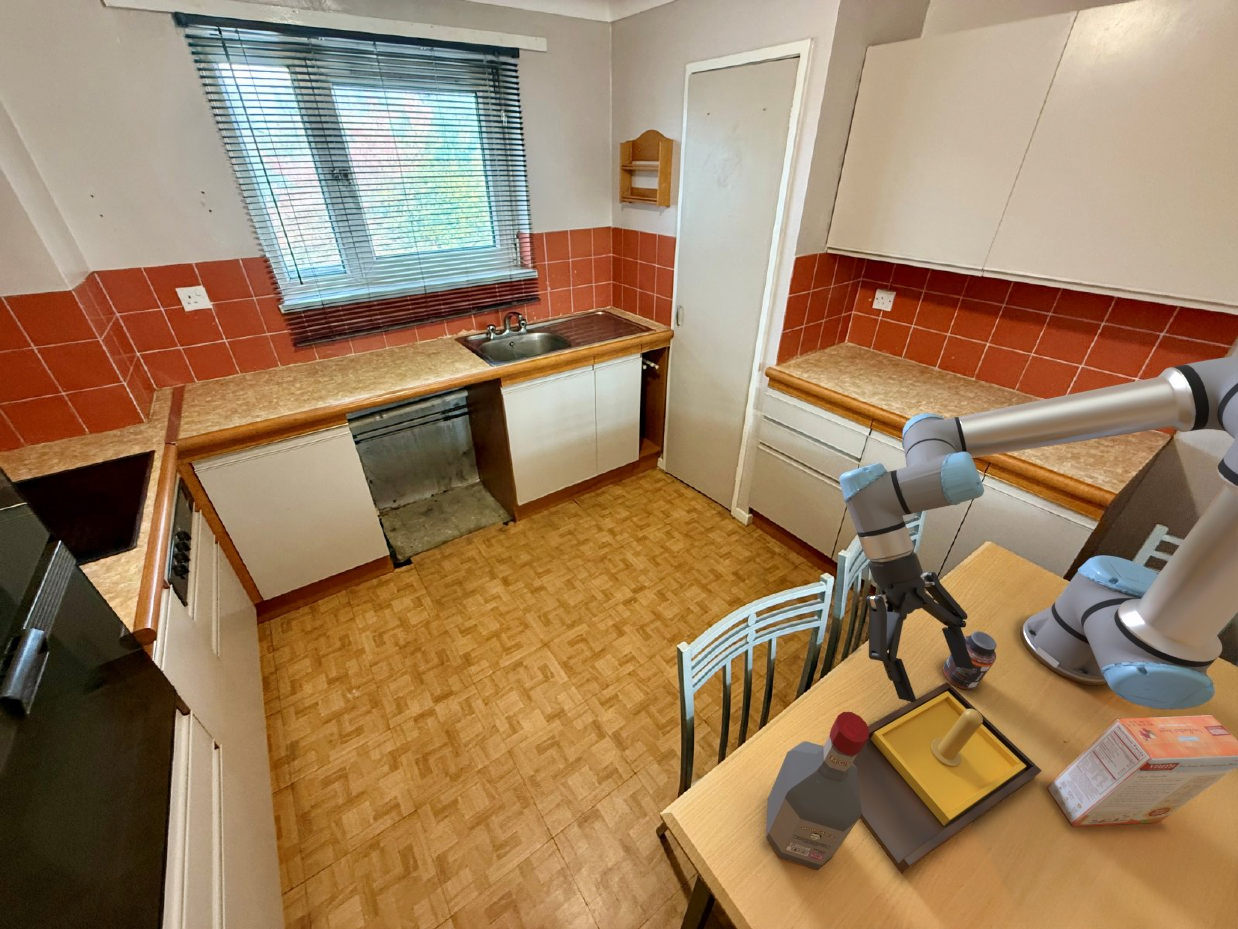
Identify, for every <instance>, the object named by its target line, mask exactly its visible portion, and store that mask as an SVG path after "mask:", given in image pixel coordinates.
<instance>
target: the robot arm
mask: <svg viewBox="0 0 1238 929" xmlns="http://www.w3.org/2000/svg"><path fill="white" fill-rule="evenodd" d="M1167 428H1171V429H1173V430H1175V431H1178V432H1180V433H1187V432H1195V431H1201V430H1214V431H1222V432H1225V433H1227V434H1228V436H1230V437H1231V438H1233V439H1234V440H1233V442H1232V444H1231V446H1230V447H1229V448H1228V450H1227V451H1226V453H1225V454H1224V455H1223V457H1222V458H1221V460H1220V462H1219V463H1218V464H1217V466H1216V472H1217V475H1218V476H1219V477H1220V478H1221V480H1222V481H1223V483H1224V484H1223V485H1222V486H1221V488H1220V489H1219V490H1218V492H1217V493H1216V494H1215V496H1214V498H1213V499H1212V500H1211V501H1210V503H1209V504H1208V506H1207V507H1206V509H1205V510H1204V511H1203V513H1202V514H1201V515H1200V517H1199V518H1198V520H1197V521H1196V522H1195V524H1194V525H1193V527H1192V528H1191V529H1190V531H1189V532H1188V533H1187V535H1186V536H1185V537H1184V539H1183V540H1182V541H1181V543H1180V545H1179V546H1178V547H1177V549H1175V551H1174V552H1173V554H1172V555H1171V557H1170V558H1169V559H1168V560H1167V562H1166V564H1165V565H1164V566H1163V568H1162V569H1161V570H1160V572H1159V573H1157V571H1154V570H1152V569H1151V568H1148V567H1146V566H1144V565H1142V564H1140V563H1138V562H1135V561H1132V560H1129V559H1126V558H1122V557H1119V556H1113V555H1096V556H1093V557H1090V558H1088V559H1087V560H1086V561H1085V562H1084V563H1083V564H1082V565H1081V566H1080V567H1078V568H1077V572H1076V573H1075V574H1074V576H1073V577H1072V578H1071V579H1070V581H1069V583H1068V584H1067V585H1066V587H1065V588H1064V589H1063V591H1061V593H1060V594H1059V595H1058V597H1057V598H1056V600H1055V601H1054V602H1053V603H1052V605H1051V606H1048V607H1046V608H1044V609H1042V610H1040V611H1039V612H1036V613H1035V614H1033V615H1031V616H1029V617H1028V618H1027V619H1026V620H1025V621H1024V623H1023V624H1022V625H1021V627H1020V633H1019V634H1020V638H1021V642H1022V643H1023V645H1024V647H1025V648H1026V649H1027V651H1028V652H1029V654H1030V655H1031V656H1032V657H1033V658H1034V659H1036V661H1038V662H1039V663H1040V664H1041V665H1043V667H1046V668H1047V669H1048V670H1050V671H1051V672H1053V673H1054V674H1056V675H1058V676H1060V677H1062V678H1065V679H1067V680H1069V681H1072V682H1074V683H1078V684H1082V685H1087V686H1101V685H1105V684H1107V685H1108V686H1109V688H1110V690H1111V691H1112V692H1113V693H1114V694H1115V695H1116V696H1117V697H1119V698H1121V699H1122V700H1124V701H1126V702H1129V703H1131V704H1134V705H1137V706H1140V707H1144V708H1148V709H1155V710H1168V711H1169V710H1170V711H1171V710H1173V711H1174V710H1186V709H1192V708H1196V707H1200V706H1202V705H1204V704H1207V703H1209V702H1210V701H1211V700H1212V699H1214V696H1215V693H1216V689H1215V686H1214V685H1215V683H1214V681H1213V679H1212V678H1211V677H1210V676H1209V675H1208V674H1207V673H1208V672H1207V671H1208V669H1209V668H1210V667H1211V666H1212V664H1213V663H1214V662H1215V661H1216V660H1217V659H1218V658H1219V657H1220V656H1221V654H1222V652H1223V644H1222V642H1221V640H1220V637H1218V635H1219V633H1220V632H1221V631H1222V630H1223V629H1224V628H1225V627H1226V626H1227V625H1228V623H1229V622H1230V621H1232V619H1233V618H1234V617H1235V616H1236V615H1237V613H1238V355H1235V356H1226V357H1220V358H1213V359H1207V360H1202V361H1201V360H1200V361H1195V362H1189V363H1186V364H1181V365H1177V366H1171V367H1167V368H1165V369H1164V370H1163V371H1162V372H1161V373H1160V374H1159V375H1158V376H1157V377H1156V376H1155V377H1152V378H1147V379H1142V380H1141V379H1140V380H1135V381H1130V382H1127V383H1122V384H1116V385H1111V386H1106V387H1102V388H1096V389H1091V390H1086V391H1081V392H1076V393H1071V394H1066V395H1061V396H1055V397H1051V398H1045V399H1040V400H1035V401H1030V402H1026V403H1020V404H1015V405H1010V406H1005V407H1000V408H994V409H990V410H989V409H988V410H985V411H984V410H983V411H980V412H975V413H969V414H964V415H959V416H954V417H949V418H944V417H942V415H939V414H936V413H929V412H923V413H919V414H915V415H914V416H912V417H911V418H910V419H908V420H907V422H906V423H905V424H904V427H903V428H902V441H901V445H902V448H903V451H904V457H905V466H904V467H901V468H898V469H894V470H889V471H888V470H887V469H886V468H885V465H884V464H883V463H881V462H876V463H873V464H870V465H865V466H862V467H858V468H855V469H852V470H848V471H845V472H844V473H841V475H840V476H839V481H838V482H839V485H840V488H841V491H842V495H843V498H844V499H843V501H844V503H845V505H846V508H847V511H848V513H849V515H850V518H851V520H852V523H853V527H854V528H855V531H856V534H857V537H858V540H859V542H860V546H861V548H862V551H863V554H864V557H865V559H867V560H869V561H868V563H867V566H868V568H869V571H870V575H871V577H872V580H873V582H874V583H875V584H876V585H877V586H878V587H879V589H880V590H879V592H880V594H878V595H867V596H866V599H865V600H866V604H867V608H868V658H869V659H870V660H872V661H878V662H882V664H883V667H884V670H885V673H886V675H887V678H888V679H889V681H891V682H892V684H893V686H894V687H893V688H894V690H895V692H896V695H897V698H898V699H899V700H902V701H906V702H908V703H910V702H915V701H916V699H917V698H916V695H915V692H914V689H913V686H912V685H911V682H910V679H909V676H908V672H907V670H906V668H905V665H904V662H903V659H902V658H900V657H898V652H899V647H900V641H901V636H902V630H903V625H904V621H905V620H907V618H908V615H910V614H912V613H913V612H914V611H915V610H921V609H922V610H924V611H925V612H926V613H927V614H929V615H930V616H932V617H933V618H934V619H936V620H937V621H938V622H940V623H941V624H943V626H945V627H942V628H941V630H942V634H943V636H944V639H945V642H946V644H947V647H948V650H949V652H950V654H951V655H952V658H953V660H954V663H955V666H956V667H960V668H966V669H973V668H974V666H973V663H972V661H971V658H970V655H969V653H968V650H967V647H966V640H965V635H964V632H963V629H962V628H966V627H967V621H966V620H967V619H968V617H969V616H968V613H967V612H966V611H965V610H964V609H963V607H962V606H961V605H960V604H959V603H958V601H956V599H955V598H954V597H953V596H952V595H951V594H950V592H949V591H948V590H947V589H946V588H945V587H944V586H943V585H942V583H941V581H940V579H939V577H938V575H937V573H936V572H935V571H927V572H926V571H923V567H922V564H921V562H920V560H919V557H918V554H917V552H914V551H913V550H914V549H915V546H914V543H913V541H912V540H913V539H912V538H911V535H910V532H909V530H908V527H907V525H906V522H905V520H904V516H907V515H908V516H909V515H913V514H917V513H921V512H927V511H930V510H935V509H940V508H945V507H950V506H957V505H960V504H961V503H963V502H964V503H965V502H968V501H973V500H975V499H979V498H981V497H983V495H984V493H985V487H984V484H983V482H982V480H981V477H980V474H979V470H978V469H977V467H976V464H975V461H974V459H975V458H976V459H977V458H983V457H989V456H995V455H1000V454H1007V453H1014V452H1020V451H1025V450H1026V451H1027V450H1034V449H1040V448H1046V447H1052V446H1058V445H1065V444H1072V443H1077V442H1084V441H1091V440H1096V439H1097V440H1098V439H1104V438H1110V437H1116V436H1122V435H1128V434H1129V435H1131V434H1136V433H1142V432H1148V431H1155V430H1160V429H1167ZM925 590H926V591H925Z"/></svg>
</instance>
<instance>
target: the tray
mask: <svg viewBox="0 0 1238 929" xmlns="http://www.w3.org/2000/svg"><path fill="white" fill-rule="evenodd" d="M978 711H979V710H978ZM978 711H976V710H974V709H966V708H965V707H964V706H963V705H962V704H960V703H959V702H958V701H957V700H956V699H955V698H954V697H953V696H952V695H951V694H950V693H949V692H948V691H946V692H945V693H943V694H941V695H939V696H938V697H936V698H934V699H932V700H931V701H929V702H927V703H925V704H923V705H922V706H920V707H918V708H916V709H915V710H913V711H911V712H909V713H908V714H906V715H904V716H902V717H901V718H899V719H897V720H895V721H894V722H892V723H890V724H888V725H887V726H885V727H883V728H881V729H880V730H878V731H876V732H874V734H873V736H872V737H871V741H872V742H873V743H874V744H875V745H876V746H877V748H878V749H879V750H880V751H881V752H882V753H883V755H884V756H885V757H886V758H887V759H888V761H889V762H890V763H891V764H892V765H893V766H894V768H895V769H896V770H897V771H898V772H899V774H900V775H901V776H902V777H903V778H904V779H905V781H906V782H907V783H908V784H909V785H910V786H911V788H912V789H913V790H914V791H915V792H916V794H917V795H918V796H919V797H920V798H921V799H922V801H923V802H924V803H925V804H926V805H927V807H928V808H929V809H930V810H931V811H932V812H933V814H934V815H935V816H936V817H937V818H938V819H939V821H940V822H941V823H942V824H943V825H944V826H945V825H947V824H948V823H949V822H951V821H952V820H954V819H955V818H957V817H958V816H959V815H961V814H962V813H964V812H965V811H967V810H968V809H969V808H971V807H972V806H974V805H975V804H976V803H978V802H979V801H981V800H982V799H984V798H985V797H986V796H988V795H989V794H991V793H992V792H993V791H995V790H996V789H998V788H999V787H1001V786H1002V785H1003V784H1005V783H1006V782H1008V781H1009V780H1011V779H1012V778H1013V777H1015V776H1016V775H1018V774H1019V773H1020V772H1021V771H1022V770H1023V769H1024V768H1025V767H1026V765H1025V764H1024V763H1023V762H1021V761H1020V760H1019V759H1018V758H1017V757H1016V756H1015V755H1014V754H1013V753H1012V752H1011V751H1010V750H1009V749H1008V748H1007V747H1006V746H1005V745H1004V744H1003V743H1001V742H1000V741H999V740H998V739H997V738H996V737H995V736H994V735H993V734H992V733H991V732H990V731H989V730H988V729H987V728H986V727H985V726H984V725H983V724H982V723H983V718H982V715H983V714H982V713H981V712H980V711H979V712H980V713H981V714H982V715H981V714H980V713H979V712H978Z"/></svg>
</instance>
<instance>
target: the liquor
mask: <svg viewBox="0 0 1238 929" xmlns="http://www.w3.org/2000/svg"><path fill="white" fill-rule="evenodd" d="M868 726H869V725H868V723H867V722H866V721H865V719H863V718H862V716H860V715H859V714H857V713H854V712H853V711H842V712H841V713H839V714H838V715H837V716H836V719H835V720H834V722H833V724H832V726H831V728H830V731H829V735H828V737H827V739H826V741H825V743H824V745H821V744H818V743H814V742H810V741H806V740H804V741H802V742H800V743H798V744H797V745H796V746H794V747H793V748H791V749H790V750H788V751H787V752H786V755H785V756H784V759H783V762H782V763H781V766H780V769H779V771H778V773H777V776H776V778H775V781H774V783H773V784H772V787H771V790H770V792H769V795H768V797H767V801H766V802H767V803H766V804H767V805H766V831H765V832H766V833H765V838H766V840H767V841H768V843H769V845H770V846H771V848H772V849H773V851H774V852H775V853H776V855H777V857H778V858H779V859H782V860H785V861H789V862H792V863H795V864H798V865H801V866H804V867H807V868H810V869H813V870H816V871H819V870H820V869H821V868H823V867H824V866H825V865H826V864H827V863H828V862H830V861H831V860H832V859H833V858H834V856H835V855H836V853H837V852H838V850H839V849H840V847H841V846H842V845H843V843H844V842H845V840H846V839H847V837H848V835H850V833H851V832H852V829H854V827H855V825H857V823H858V821H859V820H860V819H861V818H860V817H861V815H862V810H861V800H860V791H859V781H858V771H857V767H856V766H855V765H854V764H853V761H854V759H855V757H856V755H857V754H858V753H859V752H861V750H862V748H863V746H864V745H865V743H866V741H867V739H868V736H869V728H868Z"/></svg>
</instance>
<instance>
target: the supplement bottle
mask: <svg viewBox="0 0 1238 929" xmlns="http://www.w3.org/2000/svg"><path fill="white" fill-rule="evenodd" d="M964 637H965V640H966V647H967V650H968V653H969V655H970V658H971V661H972V663H973V666H974V668H973V669H966V668H960V667H956V666H955V663H954V660H953V658H952V655H951V653H950V654H949V656H948V657H947V659H946V660H945V662H944V665H943V667H942V671H943V675H944V676H945V677H946V679H947V680H948V681H949V683H951V684H952V685H954V686H955V687H957V688H960V689H963V690H973V689H975V688H977V686H979V684H980V682H981V681H982V680H983V678H984V677H985V676H986V674H987V673H988V671H989V670H990V669H991V668H992V667H993V665H994V663H995V662H996V661H997V660H996V659H997V653H996V649H997V644H998V643H997V642H996V640H995V638H994V637H993V636H991V635H990V634H988V633H986V632H983V631H979V630H975V631H972V633H971V634H970V635H964Z"/></svg>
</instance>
